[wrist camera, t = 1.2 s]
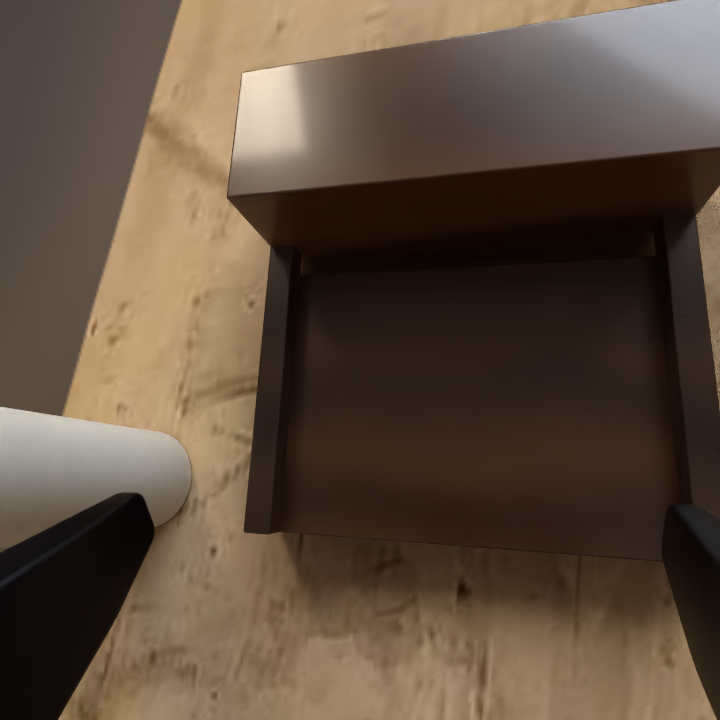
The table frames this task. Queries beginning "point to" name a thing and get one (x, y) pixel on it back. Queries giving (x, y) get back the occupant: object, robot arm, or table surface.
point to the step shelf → (488, 285)
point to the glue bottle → (81, 470)
